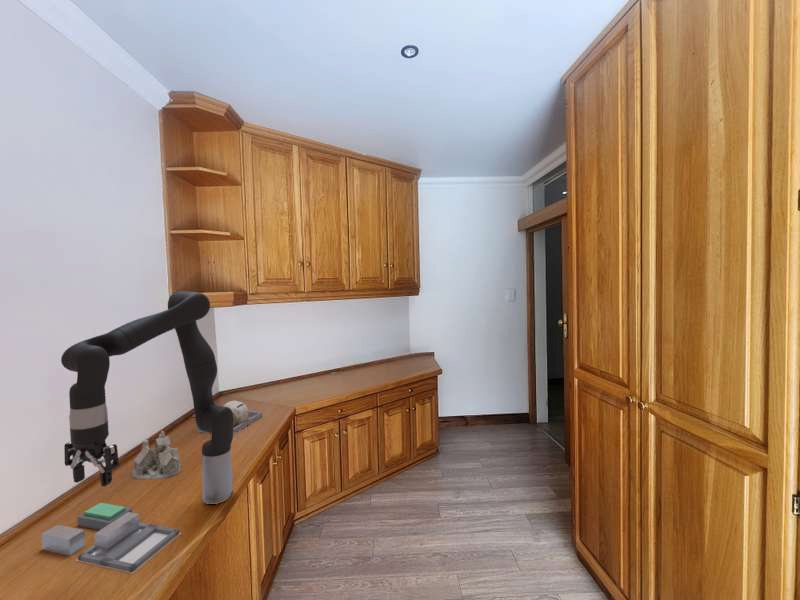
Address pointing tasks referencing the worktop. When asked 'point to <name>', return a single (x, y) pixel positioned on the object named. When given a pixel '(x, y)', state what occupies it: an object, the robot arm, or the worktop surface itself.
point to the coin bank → (238, 411)
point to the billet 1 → (63, 540)
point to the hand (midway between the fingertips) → (92, 482)
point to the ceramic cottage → (157, 460)
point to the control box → (98, 520)
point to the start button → (104, 511)
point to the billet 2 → (116, 533)
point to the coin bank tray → (255, 416)
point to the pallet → (133, 549)
